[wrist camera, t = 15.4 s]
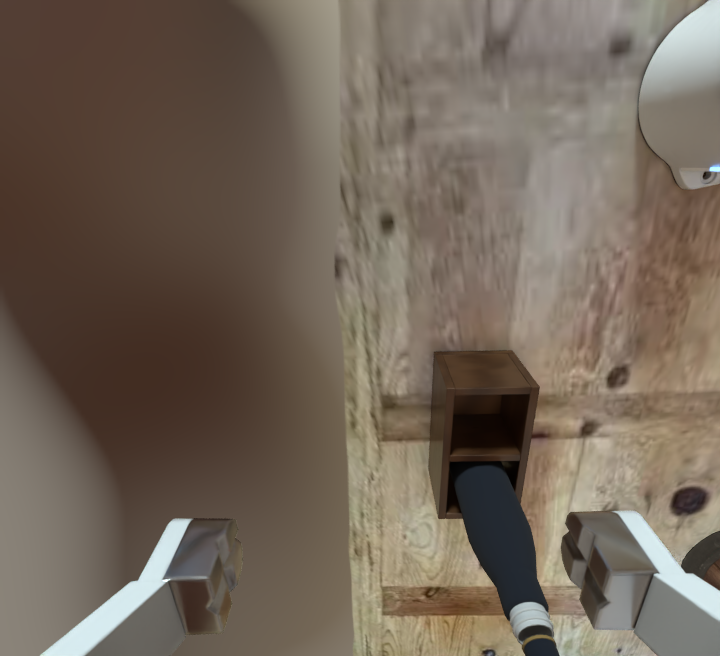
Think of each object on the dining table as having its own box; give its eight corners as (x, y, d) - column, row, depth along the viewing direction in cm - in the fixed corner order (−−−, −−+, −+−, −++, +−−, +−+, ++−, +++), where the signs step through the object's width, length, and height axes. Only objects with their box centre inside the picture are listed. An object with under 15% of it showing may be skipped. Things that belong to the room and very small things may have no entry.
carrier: (512, 350, 51) (540, 386, 43) (497, 467, 59) (518, 518, 51) (433, 351, 52) (446, 388, 44) (428, 468, 59) (438, 519, 51)
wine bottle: (494, 425, 55) (626, 701, 27) (488, 463, 57) (604, 752, 30) (445, 424, 55) (528, 700, 27) (442, 463, 57) (514, 751, 30)
